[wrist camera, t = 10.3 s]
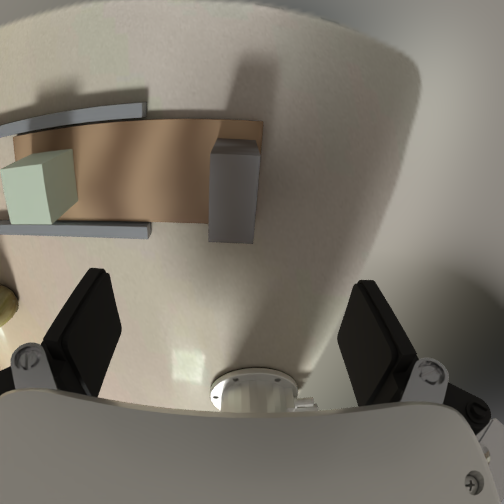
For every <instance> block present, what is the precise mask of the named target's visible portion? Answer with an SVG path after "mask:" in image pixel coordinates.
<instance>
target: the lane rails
mask: <svg viewBox="0 0 504 504" xmlns="http://www.w3.org/2000/svg"><path fill="white" fill-rule="evenodd" d="M146 109H147V102H140V103H127V104H116V105H106V106H97V107H90V108H82V109H76V110H69V111H63V112H58V113H52V114H47V115H42V116H37V117H33V118H28V119H24V120H20V121H15V122H11V123H8V124H4V125H0V138H1V137H5V136H9V135H14V134H18V133H23V132H28V131H33V130H38V129H44V128H50V127H56V126H62V125H69V124H76V123H84V122H93V121H102V120H113V119H125V118H141V117H145V116H146ZM0 234H2V235H39V236H72V237H102V238H130V239H148V238H149V237H150V235H151V223H150V222H142V221H87V220H56V221H55V222H54V223H53V224H11V222H10V220H0Z"/></svg>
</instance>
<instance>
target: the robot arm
mask: <svg viewBox="0 0 504 504" xmlns="http://www.w3.org/2000/svg"><path fill="white" fill-rule="evenodd" d="M121 330H122V327H121V322H120V318H119V314H118V310H117V306H116V302H115V298H114V293H113V289H112V284H111V279H110V275H109V273H106V271H105V270H104V269H99V268H90V269H89V270H88V271H87V272H86V274H85V275H84V277H83V278H82V280H81V281H80V282H79V284H78V285H77V287H76V288H75V290H74V291H73V293H72V294H71V296H70V297H69V299H68V300H67V302H66V303H65V305H64V306H63V308H62V309H61V311H60V312H59V314H58V315H57V317H56V319H55V320H54V322H53V323H52V325H51V327H50V328H49V330H48V332H47V333H46V335H45V337H44V338H43V342H42V343H41V345H40V344H37V343H26V344H23V345H21V346H19V347H18V348H17V349H16V350H15V351H14V353H13V354H12V357H11V366H10V367H8V368H6V369H4V370H1V371H0V504H501V502H502V500H503V498H504V426H503V425H502V424H501V423H500V422H499V421H498V420H497V419H496V418H494V420H491V412H490V409H489V407H488V405H487V404H486V403H485V402H484V401H483V400H482V399H480V398H478V397H476V396H474V395H472V394H470V393H468V392H466V391H464V390H462V389H460V388H458V387H456V386H454V385H452V384H450V383H448V379H449V375H448V372H447V370H446V368H445V367H444V366H443V365H442V364H441V363H440V362H438V361H437V360H434V359H432V358H422V359H418V357H417V355H416V354H417V353H416V351H415V349H414V347H413V346H412V344H411V342H410V340H409V338H408V337H407V335H406V333H405V331H404V330H403V328H402V326H401V324H400V323H399V321H398V319H397V317H396V316H395V314H394V312H393V311H392V309H391V307H390V306H389V304H388V303H387V301H386V299H385V297H384V296H383V294H382V292H381V291H380V289H379V288H378V286H377V284H376V283H375V281H373V280H359V281H358V283H357V284H354V286H353V289H352V292H351V295H350V298H349V302H348V305H347V308H346V311H345V314H344V317H343V320H342V323H341V326H340V330H339V332H338V337H337V340H338V344H339V348H340V350H341V353H342V357H343V360H344V363H345V365H346V369H347V371H348V375H349V378H350V381H351V384H352V387H353V390H354V394H355V397H356V400H357V403H358V406H359V407H352V408H341V409H331V410H318V405H317V404H314V399H313V397H308V398H298V399H297V396H298V389H297V384H296V382H295V381H294V380H293V379H292V378H291V377H290V376H289V375H287V374H285V373H283V372H280V371H277V370H273V369H266V368H247V369H241V370H236V371H233V372H230V373H227V374H225V375H223V376H221V377H220V378H218V379H217V380H216V381H215V382H214V383H213V384H212V386H211V389H210V399H211V401H212V403H213V404H214V405H215V406H216V407H217V408H218V409H220V412H211V411H195V410H183V409H172V408H163V407H155V406H147V405H140V404H133V403H126V402H120V401H115V400H109V399H103V398H98V395H99V392H100V389H101V386H102V383H103V380H104V377H105V375H106V372H107V369H108V366H109V364H110V361H111V358H112V356H113V353H114V350H115V348H116V345H117V343H118V340H119V337H120V335H121Z"/></svg>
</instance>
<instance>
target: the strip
mask: <svg viewBox="0 0 504 504" xmlns="http://www.w3.org/2000/svg"><path fill="white" fill-rule="evenodd" d="M262 134H263V121H248V120H229V119H149V120H131V121H117V122H105V123H95V124H86V125H78V126H70V127H63V128H57V129H50V130H44V131H39V132H33V133H28V134H23V135H18V136H15V137H13V143H14V153H15V161H18V160H20V159H22V158H24V157H26V156H28V155H30V154H34V153H41V152H49V151H57V150H66V149H72V150H73V162H74V172H75V180H76V188H77V196H78V202H76V203H75V204H74V205H73V206H72V207H71V208H70V209H68V210H67V211H66V212H65V213H64V214H63V215H62V216H61V217H59V218H58V219H57V220H87V221H142V222H176V223H204V224H209V242H224V243H247V244H253V239H254V227H255V216H256V204H257V192H258V181H259V169H260V157H261V145H262Z"/></svg>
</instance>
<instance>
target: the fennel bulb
mask: <svg viewBox="0 0 504 504" xmlns="http://www.w3.org/2000/svg"><path fill="white" fill-rule="evenodd" d="M18 306H19V305H18V300H17V298H16V297H15V295H14V293H13V291H11V290H10V289H9V288H7V287H5V286H3V285H0V327H1V326H3V325H4V324H5V323H7V322H8V321H9V320H10V319H11V318H12V317H13V315H14V314H15V312H17V310H18Z"/></svg>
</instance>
